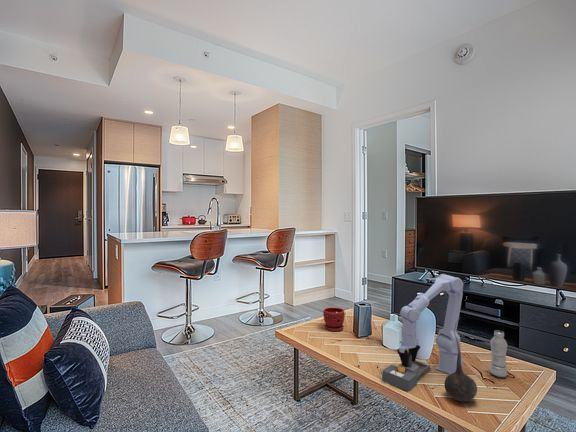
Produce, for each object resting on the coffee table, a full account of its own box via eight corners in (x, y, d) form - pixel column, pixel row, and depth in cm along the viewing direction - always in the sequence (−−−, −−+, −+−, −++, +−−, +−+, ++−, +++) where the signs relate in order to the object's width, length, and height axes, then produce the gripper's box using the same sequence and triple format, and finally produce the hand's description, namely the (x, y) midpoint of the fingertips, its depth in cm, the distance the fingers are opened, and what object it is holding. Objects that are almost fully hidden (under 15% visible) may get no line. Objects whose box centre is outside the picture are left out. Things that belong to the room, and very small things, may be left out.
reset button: (406, 375, 141) (406, 367, 141) (402, 378, 139) (403, 369, 139) (399, 373, 143) (399, 364, 143) (396, 375, 141) (396, 366, 141)
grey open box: (417, 384, 139) (417, 373, 139) (408, 391, 133) (408, 379, 133) (391, 374, 147) (391, 363, 147) (382, 380, 142) (382, 369, 142)
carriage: (419, 373, 146) (419, 355, 146) (413, 377, 141) (413, 359, 141) (404, 367, 151) (404, 350, 150) (397, 372, 146) (398, 354, 146)
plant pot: (346, 327, 207) (346, 308, 207) (341, 334, 195) (341, 314, 195) (326, 323, 212) (327, 305, 212) (320, 330, 200) (320, 311, 200)
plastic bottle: (501, 380, 143) (502, 335, 142) (486, 373, 149) (487, 330, 148) (510, 377, 146) (511, 333, 145) (494, 370, 152) (495, 328, 151)
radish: (477, 393, 133) (478, 320, 132) (476, 410, 121) (478, 330, 120) (446, 385, 139) (447, 315, 138) (442, 401, 127) (444, 324, 126)
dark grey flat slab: (430, 370, 151) (430, 365, 151) (415, 383, 140) (415, 377, 140) (409, 363, 158) (409, 358, 158) (393, 374, 147) (393, 369, 147)
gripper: (407, 327, 154) (407, 355, 154) (392, 335, 144) (392, 365, 144) (422, 331, 149) (422, 360, 149) (408, 340, 139) (407, 371, 139)
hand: (408, 363), depth 146 cm, fingers open, 7 cm apart
